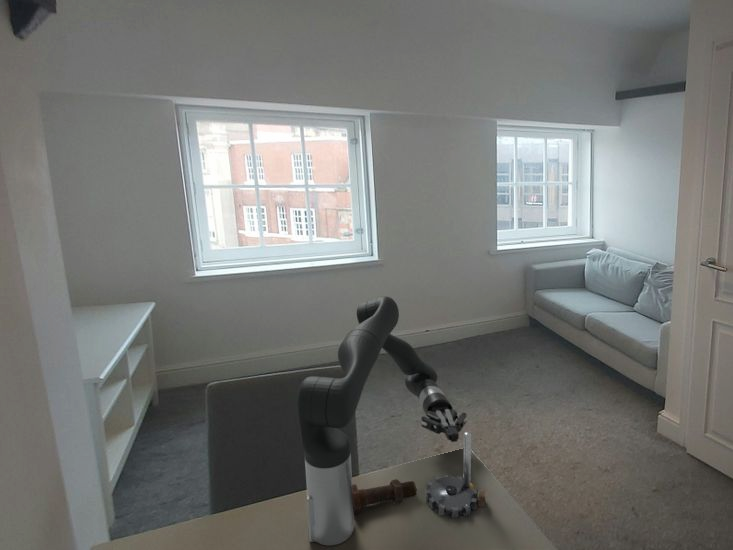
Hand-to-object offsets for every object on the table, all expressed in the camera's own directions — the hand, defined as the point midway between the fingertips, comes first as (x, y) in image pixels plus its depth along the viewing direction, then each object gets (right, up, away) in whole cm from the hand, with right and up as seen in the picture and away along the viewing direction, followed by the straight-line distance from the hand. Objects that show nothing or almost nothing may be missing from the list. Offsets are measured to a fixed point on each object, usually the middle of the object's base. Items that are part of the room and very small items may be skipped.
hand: (454, 438), depth 103 cm
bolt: (-18, -11, -9) cm, 23 cm away
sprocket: (-3, -10, -9) cm, 14 cm away
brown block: (+4, -10, -11) cm, 15 cm away
